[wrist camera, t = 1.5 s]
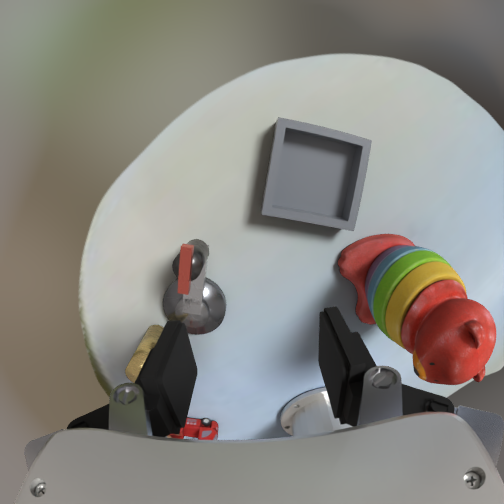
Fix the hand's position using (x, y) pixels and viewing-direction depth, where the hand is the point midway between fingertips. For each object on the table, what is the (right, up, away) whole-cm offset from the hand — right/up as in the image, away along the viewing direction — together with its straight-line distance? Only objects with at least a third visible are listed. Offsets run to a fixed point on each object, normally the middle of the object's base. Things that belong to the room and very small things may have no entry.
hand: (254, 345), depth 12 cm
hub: (-7, -2, +19) cm, 20 cm away
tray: (+6, +12, +15) cm, 20 cm away
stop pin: (-12, -6, +20) cm, 24 cm away
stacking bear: (+15, +2, +18) cm, 24 cm away
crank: (-6, +1, +17) cm, 18 cm away
